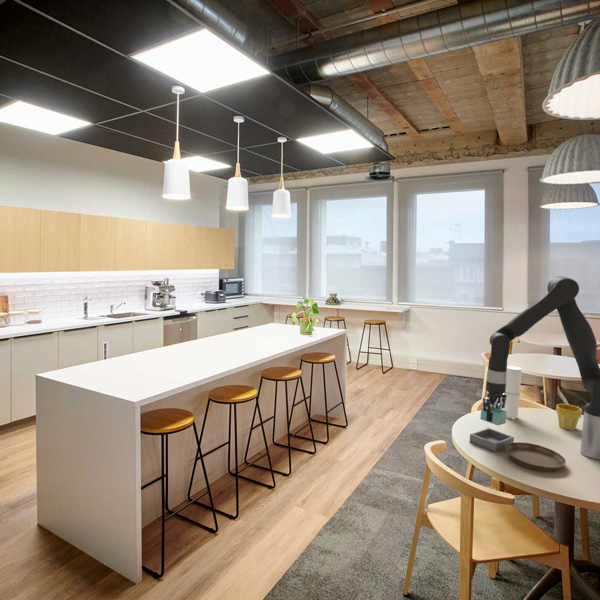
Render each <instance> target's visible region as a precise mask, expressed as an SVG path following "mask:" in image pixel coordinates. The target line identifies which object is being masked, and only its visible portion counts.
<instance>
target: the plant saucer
mask: <svg viewBox="0 0 600 600" xmlns="http://www.w3.org/2000/svg"><path fill="white" fill-rule="evenodd" d="M504 450H505V451H506V453H507V454H508V456H509V458H511V460H513V461H514V462H515V463H517V464H518V465H520V466H522V467H525V468H527V469H529V470H530V469H531V470H535V471H541V472H555V471H557V470H560V469H561V468H563V467H564V466H565V465H566V463H567V461H566V459H565V457H563V456H562V454H560V453H559V452H557V451H555V450H553V449H551V448H548V447H545V446H543V445H540V444H534V443H530V442H523V441H522V442H519V441H517V442H516V441H515V442H514V443H510V444H507V445H506V447H505V449H504Z"/></svg>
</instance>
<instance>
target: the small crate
mask: <svg viewBox="0 0 600 600" xmlns="http://www.w3.org/2000/svg"><path fill="white" fill-rule="evenodd" d="M486 408H487V407H486ZM490 410H491V407H490ZM506 412H507V411H503V410H500V409H497V408H494V409H493V414H492V421H491V422H489V421H487V420H486V415H487V412H486V411H483V406H482V407H481V409H480V420H482V421H484V422H487V423H490V424H493V425H495V426H501V425H504V424H506V420H507V418H506Z"/></svg>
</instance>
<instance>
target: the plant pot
mask: <svg viewBox="0 0 600 600" xmlns="http://www.w3.org/2000/svg"><path fill="white" fill-rule="evenodd" d="M555 408H556V409H555V413H556V414H557V421H558V426H559V427H560V428H562V429H564V430H568V429H569V430H568V431H574V430H576V428H577V425H578V422H579V420H580V418H582V416H583V415H582V414H583V409H582V408H580V407H579V406H577V405H572V404H567V403H558V404H556V407H555Z"/></svg>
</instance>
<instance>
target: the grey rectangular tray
mask: <svg viewBox="0 0 600 600" xmlns="http://www.w3.org/2000/svg"><path fill="white" fill-rule="evenodd" d="M514 439H515V436H512V435H509V434H506V433H503V432H501V431H499V430H495V429H492V428H490V427H487V428H484V429H481V430H478V431H475V432H472V433H470V434H469V443H471V444H474V445H475V446H478V447H480V448H482V449H483V448H484V449H486V450H487V451H490V452H493V453H497V452H500V451H502V450H506V449H505V447H506V445H507V444H510V443H515V442H514Z"/></svg>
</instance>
